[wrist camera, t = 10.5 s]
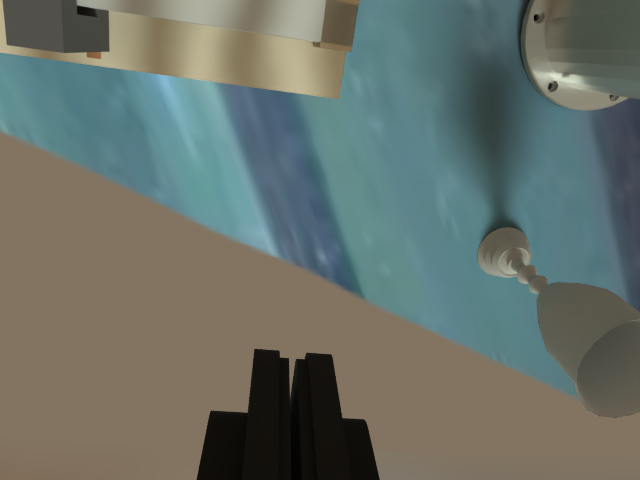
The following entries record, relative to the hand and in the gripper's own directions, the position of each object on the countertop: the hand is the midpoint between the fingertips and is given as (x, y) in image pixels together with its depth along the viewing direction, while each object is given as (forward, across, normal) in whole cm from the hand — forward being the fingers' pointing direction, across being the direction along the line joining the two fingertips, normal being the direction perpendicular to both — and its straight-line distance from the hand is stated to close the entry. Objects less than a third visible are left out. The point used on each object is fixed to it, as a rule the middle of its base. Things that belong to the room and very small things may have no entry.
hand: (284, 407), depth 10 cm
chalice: (+32, -22, +8) cm, 40 cm away
